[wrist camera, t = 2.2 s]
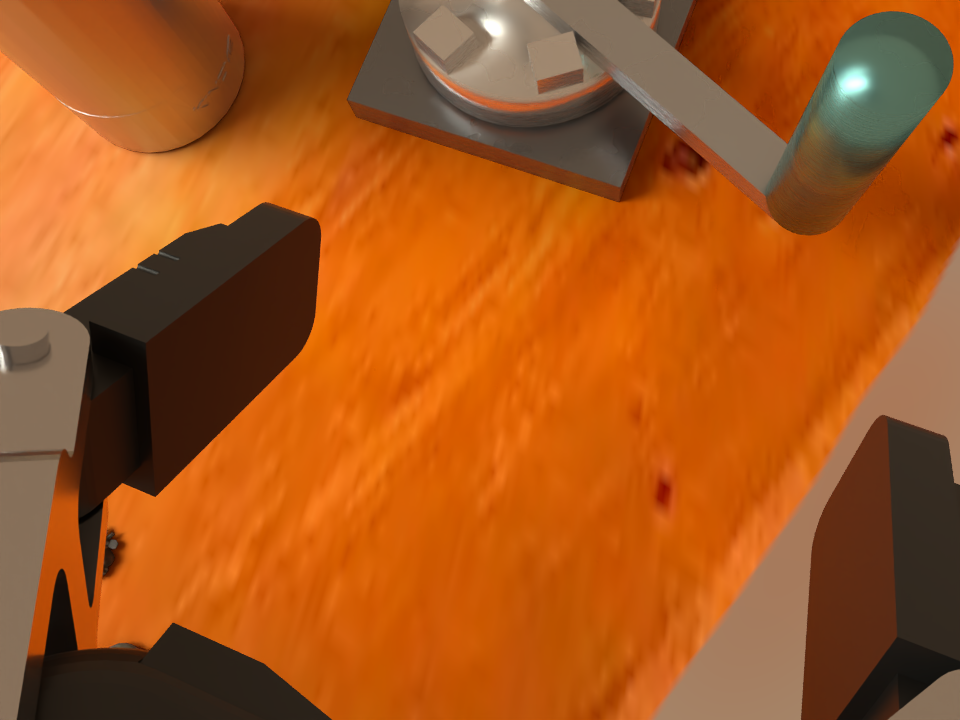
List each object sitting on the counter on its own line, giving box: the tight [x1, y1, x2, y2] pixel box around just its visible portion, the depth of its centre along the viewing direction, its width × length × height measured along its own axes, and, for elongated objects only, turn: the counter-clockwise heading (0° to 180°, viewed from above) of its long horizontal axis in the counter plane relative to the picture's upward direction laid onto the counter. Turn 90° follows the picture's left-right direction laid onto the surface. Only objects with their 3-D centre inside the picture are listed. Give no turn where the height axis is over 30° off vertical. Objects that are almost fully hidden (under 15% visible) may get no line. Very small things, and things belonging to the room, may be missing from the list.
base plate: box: [347, 0, 697, 202], centre depth 43 cm, size 14×14×2 cm
